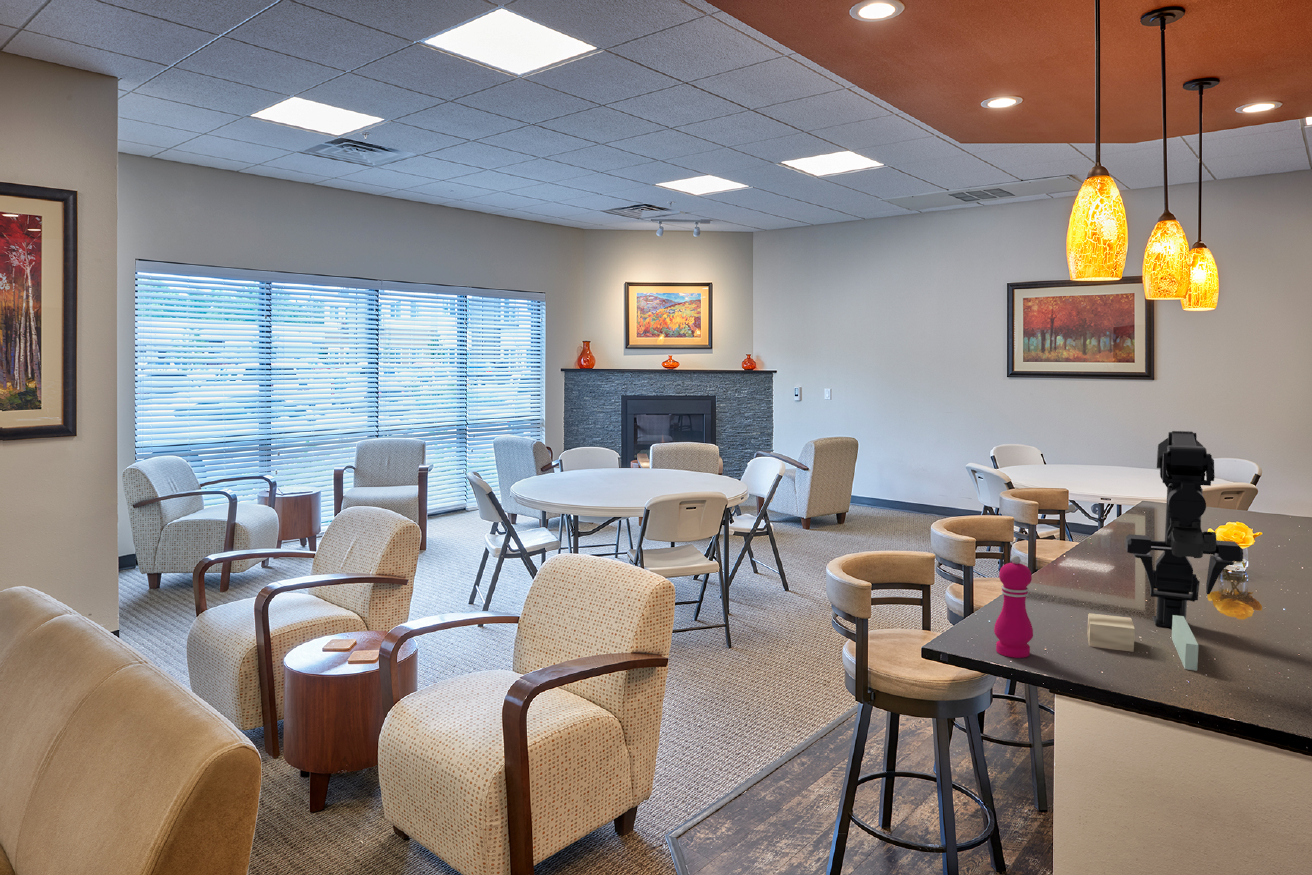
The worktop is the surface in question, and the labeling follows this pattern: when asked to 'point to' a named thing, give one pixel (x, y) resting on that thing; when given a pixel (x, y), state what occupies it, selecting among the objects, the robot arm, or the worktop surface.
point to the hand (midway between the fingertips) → (1179, 591)
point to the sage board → (1185, 642)
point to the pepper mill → (1014, 611)
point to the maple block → (1110, 632)
